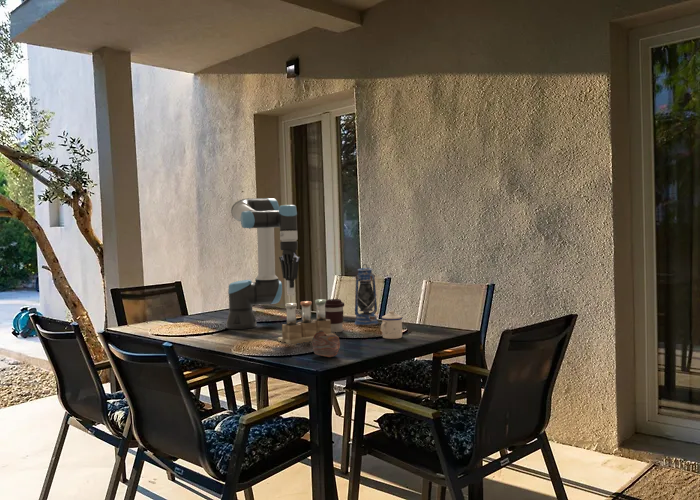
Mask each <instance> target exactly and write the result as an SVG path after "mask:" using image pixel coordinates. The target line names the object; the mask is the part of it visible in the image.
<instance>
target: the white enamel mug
mask: <svg viewBox="0 0 700 500" xmlns="http://www.w3.org/2000/svg"><path fill="white" fill-rule="evenodd" d="M381 321H382V322H381V324H380V330H381V333H382V338H383V339H389V340H394V339H395V340H396V339H397V340H398V339H401V338H402V337H403V317H402V315H399V314H398V313H395V311H394V310H389V312H388V313H386V314H385V315H382V316H381Z"/></svg>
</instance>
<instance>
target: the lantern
mask: <svg viewBox="0 0 700 500" xmlns="http://www.w3.org/2000/svg"><path fill="white" fill-rule="evenodd" d="M365 266H366V267H365ZM364 267H365V268H364ZM357 271H358V273H357V274H356V276H355V290H354V292H355V293H354V295H355V298H354V315H355V322H353V323H354V325H355V326H363V325H367V326H375V325H378V324H380V323H379V320H378V319H377V315H376V314H377V312H378V303H377V292H376V291H377V290H376V278H375V277H376V275H375V274H374V273H373V272H372V271H373V268H370V267H368V265H367V264H366V263H364V264H363V265H362V267H361V268H358V269H357ZM359 311H360V312H361V313H359Z"/></svg>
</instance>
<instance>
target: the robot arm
mask: <svg viewBox="0 0 700 500" xmlns="http://www.w3.org/2000/svg"><path fill="white" fill-rule="evenodd" d="M230 213H231V216H232V218H234V220H235V221H238V222H240V226H241V227H242V228H243V229H256V234H257V235H256V236H257V238H256V239H257V276H256V277H255V282H253V281H252V280H251V279H244V280H243V279H242V280H238V281H234V282H231V283H230V284H228V289H227V290H228V291H227V293H228V310H229V311H228V314H227V319H226V323H225V326H226V329H228V330H244V329H253V328H255V327H257V320H256V317H255V314H254V311H253V306H258V305H259V306H261V305H272V304H273V305H275V304H278V303H279V302H280V301H281V299H282V294H283V284H282V281H281V280H279V277H278V276H277V275H276V255H275V252H276V251H275V228H279V231H280V232H279V240H280V242H279V243H280V245H279V247H280V251H282V254H281V256H279V257H278V259H279V262H280V267H281V273H282V278H283V279H284V280H285V281H286V293H287V294H286V296H287V297H288V296H289V297H290V296H294V295H295V281H296V279H298V273H299V262H300V260H301V257H300V256H297V251H296V250H298V249H299V247H298V246H299V245H298V243H299V242H298V241H297V240H298V238H299V237H298V211H297V206H296V205H295V204H281V205H279V202H278V200H277V199H276V198H269V197H263V198H261V197H258V198H253V197H252V198H242V199H239V200H238V201H236V202H234V204H233V205H232V206H231V210H230Z"/></svg>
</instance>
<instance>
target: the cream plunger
mask: <svg viewBox="0 0 700 500" xmlns="http://www.w3.org/2000/svg"><path fill="white" fill-rule="evenodd" d="M284 307H285V308H286V324H287V325H288V326H292V325H296V323H297V307H298V306H297V302H290V303H289V302H288V303H285V304H284Z"/></svg>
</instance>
